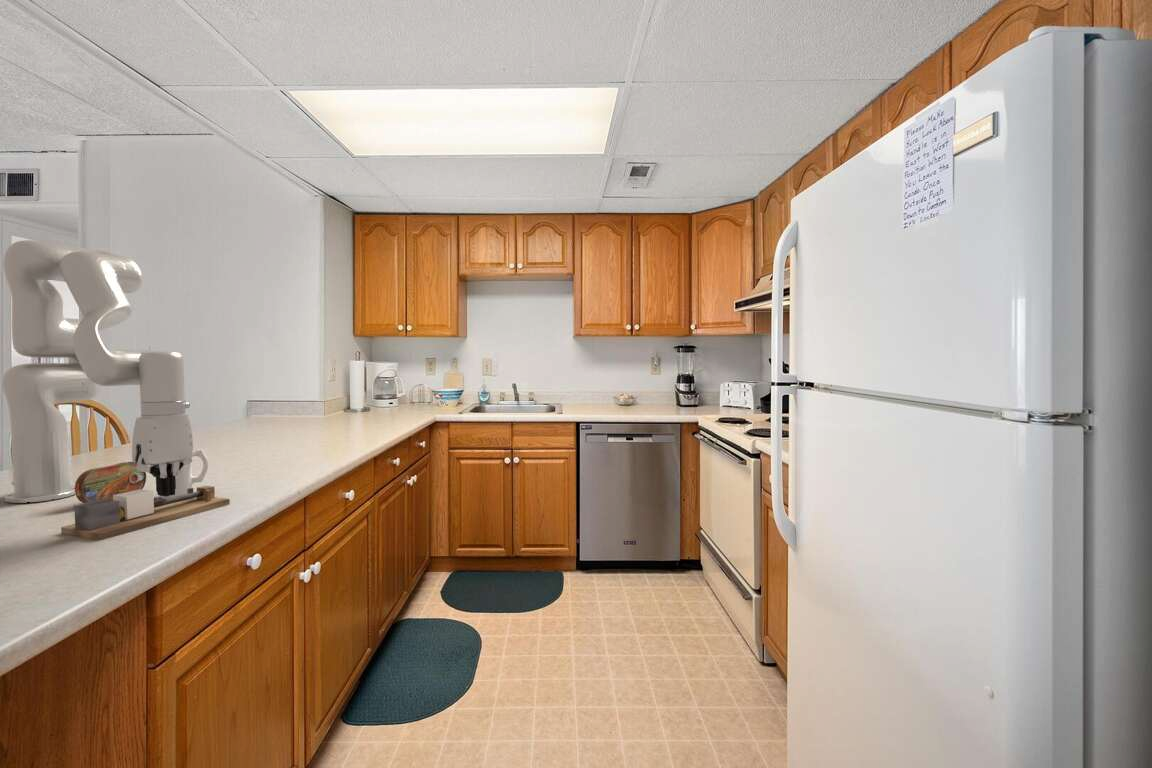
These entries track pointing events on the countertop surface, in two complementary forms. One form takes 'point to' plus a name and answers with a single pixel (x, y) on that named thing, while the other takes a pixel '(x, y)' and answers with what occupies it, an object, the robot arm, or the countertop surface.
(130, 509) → the off-white block
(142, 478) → the tin
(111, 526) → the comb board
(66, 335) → the robot arm
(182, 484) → the mug
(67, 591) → the countertop surface
